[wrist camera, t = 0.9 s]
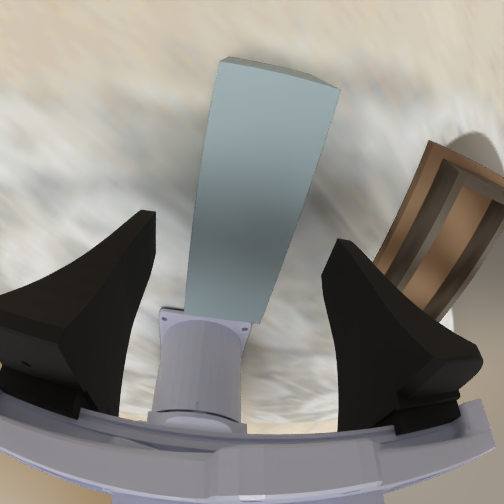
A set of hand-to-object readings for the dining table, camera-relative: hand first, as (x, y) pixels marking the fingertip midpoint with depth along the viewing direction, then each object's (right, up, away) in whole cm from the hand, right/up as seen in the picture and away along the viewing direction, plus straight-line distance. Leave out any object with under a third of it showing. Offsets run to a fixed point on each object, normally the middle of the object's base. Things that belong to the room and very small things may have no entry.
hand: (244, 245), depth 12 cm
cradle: (+15, -1, +10) cm, 18 cm away
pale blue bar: (0, +5, +6) cm, 8 cm away
